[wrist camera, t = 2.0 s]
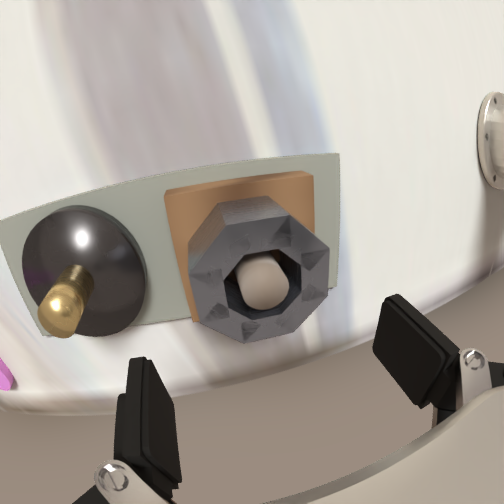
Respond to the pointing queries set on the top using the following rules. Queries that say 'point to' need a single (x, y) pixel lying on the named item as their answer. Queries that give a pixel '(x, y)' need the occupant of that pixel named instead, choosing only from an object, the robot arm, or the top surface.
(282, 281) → the stand
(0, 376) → the bracket
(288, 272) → the ring
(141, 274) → the hub
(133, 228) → the mat
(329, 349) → the top surface
